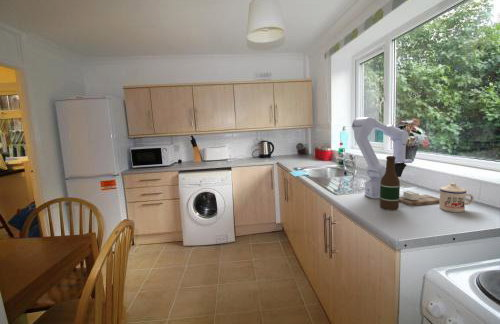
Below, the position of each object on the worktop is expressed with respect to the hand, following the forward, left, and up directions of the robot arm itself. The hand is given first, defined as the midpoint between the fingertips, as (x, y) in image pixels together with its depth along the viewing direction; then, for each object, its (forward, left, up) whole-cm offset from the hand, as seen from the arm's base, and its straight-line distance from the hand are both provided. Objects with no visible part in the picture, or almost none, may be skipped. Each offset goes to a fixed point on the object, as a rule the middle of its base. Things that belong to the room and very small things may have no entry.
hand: (398, 176), depth 136 cm
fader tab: (-6, -16, -7) cm, 19 cm away
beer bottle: (-22, -21, -10) cm, 32 cm away
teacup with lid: (+3, -30, -10) cm, 32 cm away
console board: (-2, -16, -9) cm, 19 cm away
